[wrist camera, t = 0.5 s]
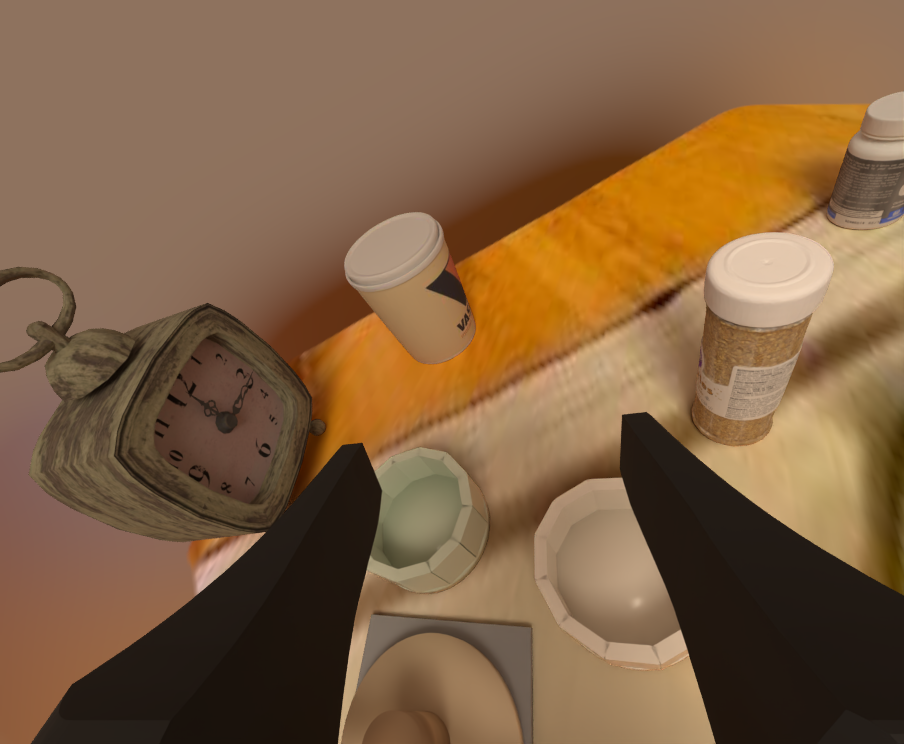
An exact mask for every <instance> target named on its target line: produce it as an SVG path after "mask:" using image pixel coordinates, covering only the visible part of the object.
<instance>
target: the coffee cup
mask: <svg viewBox="0 0 904 744" xmlns="http://www.w3.org/2000/svg"><path fill="white" fill-rule="evenodd" d="M344 268H345V274H346V278H347V280H348V282H349V283H350V284H351V285H352V286H353V287H354V288H355V289H357V291H358V292H359V293H360V295H361V296H362V297H363V298H364V300H365V301H366V302H367V303H368V304H369V306H370V307H371V308H372V309H373V311H374V312H375V313H376V314H377V315H378V317H379V318H380V319H381V320H382V321H383V323H384V324H385V325H386V326H387V327H388V329H389V330H390V331H391V332H392V333H393V335H394V336H395V337H396V338H397V339H398V341H399V342H400V343H401V344H402V345H403V347H404V348H405V349H406V350H407V351H408V352H409V353H410V355H411V356H412V357H413V358H414V359H416V360H417V361H419V362H421V363H425V364H437V363H442V362H445V361H448V360H450V359H452V358H454V357H455V356H457V355H458V354H460V353H461V352H462V351H463V350H464V349H466V347H467V346H468V345H469V344H470V342H471V341H472V339H473V337H474V334H475V321H474V317H473V315H472V312H471V309H470V306H469V303H468V301H467V298H466V295H465V293H464V290H463V287H462V284H461V282H460V279H459V276H458V274H457V271H456V268H455V265H454V263H453V260H452V257H451V255H450V253H449V250H448V247H447V245H446V242H445V240H444V234H443V230H442V228H441V226H440V224H439V223H438V222H437V221H436V220H434V219H433V218H432V217H431V216H430V215H427V214H425V213H420V212H412V213H405V214H401V215H398V216H395V217H392V218H390V219H388V220H385V221H384V222H382V223H380V224H378V225H376V226H375V227H373V228H371V229H370V230H369V231H367V232H366V233H365V234H364V235H362V236H361V237H360V238H359V239H358V240H357V241H356V242H355V243H354V245H353V246H352V247H351V248H350V250H349V252H348V254H347V256H346V258H345V263H344Z"/></svg>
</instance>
